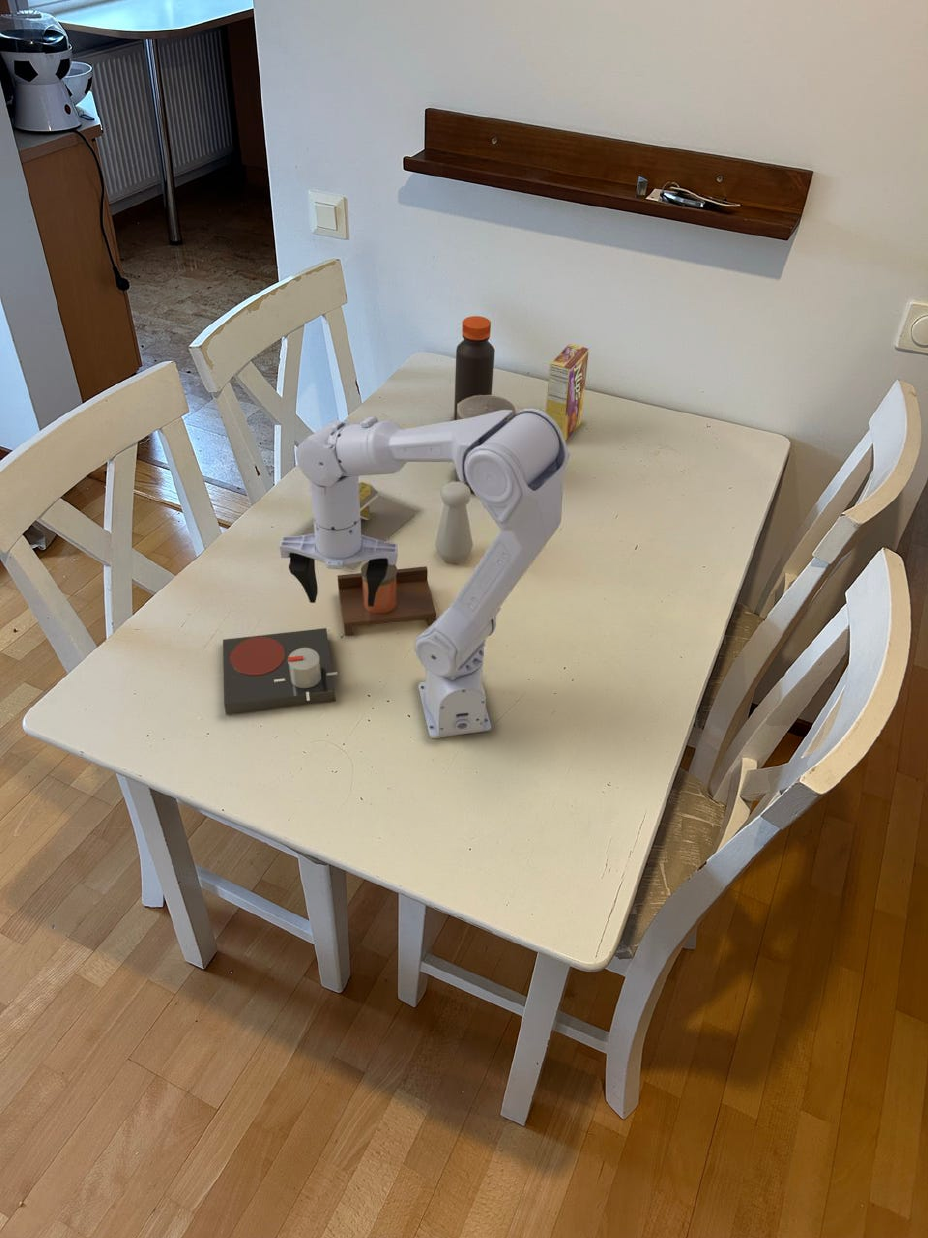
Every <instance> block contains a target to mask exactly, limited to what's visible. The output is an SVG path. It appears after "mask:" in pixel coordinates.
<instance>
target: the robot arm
mask: <svg viewBox="0 0 928 1238" xmlns="http://www.w3.org/2000/svg"><path fill="white" fill-rule="evenodd" d="M512 412H513V411H512V410H500V411H496V412H492V413H488V414H484V415H480V416H476V417H471V418H466V419H460V420H454V419H453V420H449V421H444V422H443V421H442V422H438V423H432V424H427V425H421V426H415V427H410V428H404V427H403V426H401V425H400V424H399V423H398V422H396V421H394V420H391V419H386V420H378V417H377V416H376V415H373V416H367V417H366V418H364V419H363V420H362V421H360V423H349V422H346V421H342V420H333V421H331V422H329V423H327V424H326V425H324V426H323V427H322V428H319V429H318V430H317V431H315V432H314V433H312V434H311V435H309V436H308V437H306V438H305V439H303V440H302V441H301V442H300V443H299V444H298V445H297V447H296V450H295V456H296V462H297V464H298V467H299V469H300V470H301V472H302V474H303V475H304V476H305V477H306V479H308V481H309V489H310V499H311V510H312V518H313V524H314V532H315V534H308V535H302V536H299V535H296V536H282V537H281V540H280V544H279V551H280V552H279V553H280V558H281V559H289V563H288V570H289V573H290V574H291V575H292V576H293V577H294V578H295V579H297V581H298V582H299V584H300V585H301V586H302V589H304V592H305V593H306V595H307V598H308V601H309V603H310V604H316V601H317V598H318V593H319V592H318V591H319V590H318V589H319V587H318V580H317V575H316V561H319V562H323V563H324V564H325V566H326V568H327V569H330V570H342V569H344V567H345V566H344V564H349V563H355V562H360V563H362V562H367V561H369V563H368V567H367V572H366V577H367V583H368V606H372V607H373V606H374V602H375V596H376V592H377V590H378V587H379V586H380V584H381V582H382V581H383V580H384V578H385V576H386V573H387V568H388V564H390V565H396V566H397V562H398V556H399V553H398V552H399V551H398V549H399V548H398V546H399V545H398V543H396V542H388V541H380V540H377V539H374V538H370V537H367V536H364V535H361V519H360V500H359V483H360V482H359V477H360V476H362V477H363V476H373V475H391V474H396V473H398V472H400V471H401V470H402V469H403V468H404V467H405V465H406V463H453V465H454V469H455V468H456V471H457V475H458V477H459V480H460V481H461V482H462V483H465V482H466V481H468V483H469V485H470V487H471V489H472V490H473V492H474V493H475V494H474V493H473V494H474V495H475V496H476V497H477V499H478V500H479V502H480V504H481V505H482V506H483V507H484V508H485V510H486V512H487V513H488V514H489V515H490V517H491V519H492V520H493V521H494V523H495V524H496V525H497V527H498V528H499V532H498V533H497V535H496V536H495V538H494V539H493V541H492V543H491V544H490V546H489V547H488V549H487V550H486V552H484V555H483V556H482V558H481V560H480V561H479V563H478V564H477V565H476V567H475V568H474V570H473V571H472V573H471V574H470V576H469V577H468V579H467V581H466V582H465V584H464V585H463V587H462V588H461V590H460V591H459V593H458V594H457V596H456V597H455V599H454V600H453V601H452V603H451V604H450V605H449V607H448V608H446V609H445V611H444V612H443V613H442V614H441V615H439V616H438V618H436V621H435V622H434V623H433V624H432V625H431V626H428V628H427V629H425V631H424V632H421V633H420V634H419V635H418V636H416V638H415V640H414V642H413V646H414V647H413V649H414V652H415V653H414V654H415V656H416V658H417V659H418V661H419V663H420V664H421V666H423V668H424V669H425V681H421V682H419V683H418V686H417V687H418V691H419V697H420V700H421V701H420V702H421V705H422V709H423V713H424V718H425V722H426V726H427V732H428V735H429V737H430V738H431V739H438V738H447V737H454V736H459V735H467V734H475V733H482V732H489V731H491V730H492V723H491V721H490V716H489V713H488V710H487V696H486V693H485V689H484V685H483V671H484V660H485V659H484V658H485V657H484V656H485V647H486V639H488V638H489V637H490V636H492V635H493V634H494V632H495V630H496V628H497V617H498V615H499V613H500V612H501V606H502V605H503V603H504V602H505V601H506V599H507V598H508V597H509V596H510V594H511V592H512V591H513V590H514V588H515V587H516V586H517V585H518V583H519V582H520V581H521V579H522V578H523V577H524V575H525V574H526V572H527V571H528V570H529V568H530V567H531V566H532V564H533V563H534V561H535V560H536V559H537V558H538V556H539V555H540V553H541V552H542V551H543V549H544V548H545V546H546V545H547V543H548V542H549V541H550V540H551V538H552V537H553V535H554V534H555V533H556V532H557V530H558V529H559V527H560V525H561V522H562V513H563V512H562V511H563V491H564V490H563V488H564V474H565V471H566V468H567V465H568V464H569V463H568V462H569V459H570V456H571V452H570V450H569V448H568V446H567V443H566V441H565V440H564V437H563V435H562V432H561V430H560V428H559V426H558V424H557V423H556V422H555V421H554V420H553V419H552V418H551V417H550V416H549V415H548V414H546V411H545V412H544V411H542V410H540V409H536V408H524V409H521V410H520V411H518V412H515V415H514V416H513V417H512V418H511V420H508V419H507V418H508V416H509V415H510V414H511V413H512ZM361 561H362V562H361Z"/></svg>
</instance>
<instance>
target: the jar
mask: <svg viewBox="0 0 928 1238" xmlns="http://www.w3.org/2000/svg"><path fill="white" fill-rule="evenodd" d="M368 563H369V560H367V561H365V562H364V563H363V564H362V566H361V568H360V573H361V577H362V589H363V604H364V607H365V608H366V609H367V610H368V611H370V612H373V613H387V612H389V611H391V610H393V609H394V608H395V606H396V605H397V569H398V567H397V564H396V565H390V564H388V568H387V573H386V576H385V578H384V580H383V581H382V582H381V584H380V586H379V587H378V590H377V592H376V596H375V602H374V606H373V607H372V606H368V583H367V577H366V572H367V567H368Z"/></svg>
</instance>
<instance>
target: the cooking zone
mask: <svg viewBox="0 0 928 1238" xmlns="http://www.w3.org/2000/svg"><path fill="white" fill-rule="evenodd" d="M284 658H285V650H284V648H283V646H282V645H281V644H280V643H279V642H278V641H276V640H274V639H271V638H267V637H255V638H250V639H247V640H245V641H243V642H241V643H239V644H238V645H237V646H236V647H235V648H234V649H233V651H232V653H231V656H230V662H231V665H232V666H233V668H234V669H235V670H236V671H238V672H240V673H242V674H245V675H250V676H259V675H264V674H267V673H270V672H272V671H274V670H275V669H277V668H278V667H279V666H280V665H281V664H282V662H283V661H284Z"/></svg>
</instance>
